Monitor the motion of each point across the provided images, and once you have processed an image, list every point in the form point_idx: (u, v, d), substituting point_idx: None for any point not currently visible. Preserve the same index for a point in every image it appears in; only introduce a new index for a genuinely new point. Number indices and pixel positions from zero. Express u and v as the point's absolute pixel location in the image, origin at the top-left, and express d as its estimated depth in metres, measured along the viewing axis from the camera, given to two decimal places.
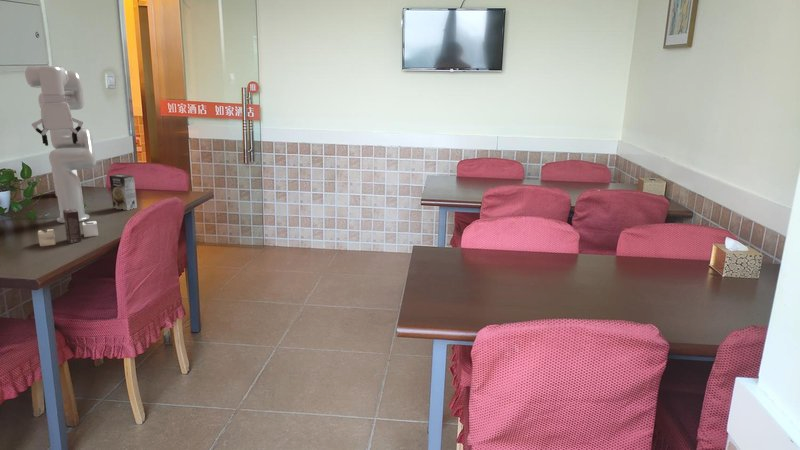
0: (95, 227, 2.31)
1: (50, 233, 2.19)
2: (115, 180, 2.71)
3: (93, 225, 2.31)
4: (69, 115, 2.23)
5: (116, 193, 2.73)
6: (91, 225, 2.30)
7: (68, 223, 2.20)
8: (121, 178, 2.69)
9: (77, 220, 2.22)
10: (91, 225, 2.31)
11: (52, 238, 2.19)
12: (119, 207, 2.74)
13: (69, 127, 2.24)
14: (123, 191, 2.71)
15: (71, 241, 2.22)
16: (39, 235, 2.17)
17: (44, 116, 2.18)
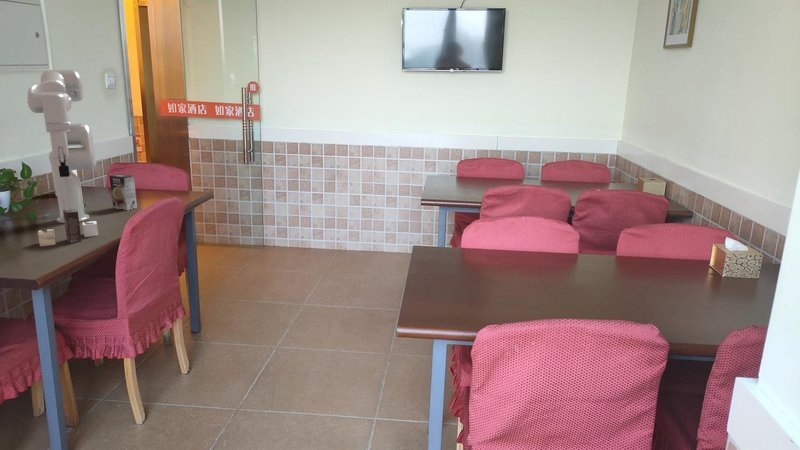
0: (95, 227, 2.31)
1: (50, 233, 2.19)
2: (115, 180, 2.71)
3: (93, 225, 2.31)
4: None
5: (116, 193, 2.73)
6: (91, 225, 2.30)
7: (68, 223, 2.20)
8: (121, 178, 2.69)
9: (77, 220, 2.22)
10: (91, 225, 2.31)
11: (52, 238, 2.19)
12: (119, 207, 2.74)
13: None
14: (123, 191, 2.71)
15: (71, 241, 2.22)
16: (39, 235, 2.17)
17: (66, 144, 2.13)
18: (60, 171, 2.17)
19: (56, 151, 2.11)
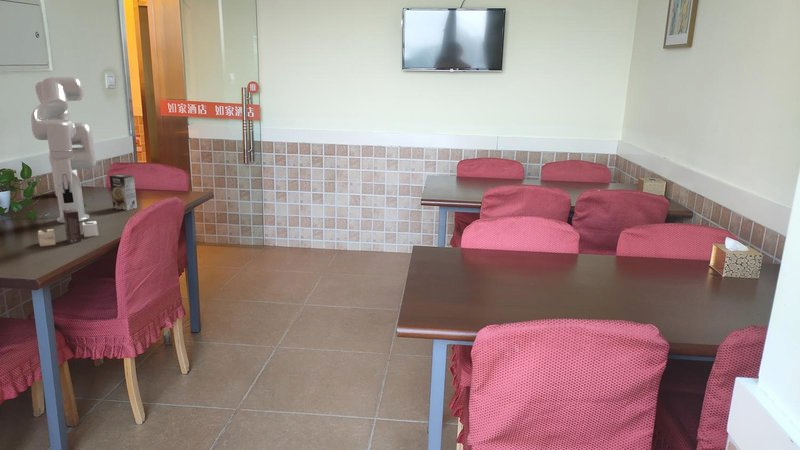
0: (95, 227, 2.31)
1: (50, 233, 2.19)
2: (115, 180, 2.71)
3: (93, 225, 2.31)
4: None
5: (116, 193, 2.73)
6: (91, 225, 2.30)
7: (68, 223, 2.20)
8: (121, 178, 2.69)
9: (77, 220, 2.22)
10: (91, 225, 2.31)
11: (52, 238, 2.19)
12: (119, 207, 2.74)
13: None
14: (123, 191, 2.71)
15: (71, 241, 2.22)
16: (39, 235, 2.17)
17: (70, 171, 2.16)
18: (64, 197, 2.20)
19: (60, 178, 2.14)
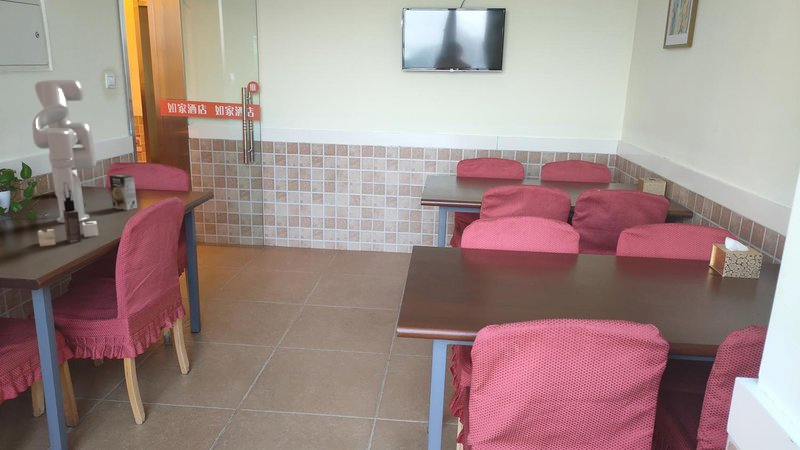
0: (95, 227, 2.31)
1: (50, 233, 2.19)
2: (115, 180, 2.71)
3: (93, 225, 2.31)
4: None
5: (116, 193, 2.73)
6: (91, 225, 2.30)
7: (68, 223, 2.20)
8: (121, 178, 2.69)
9: (77, 220, 2.22)
10: (91, 225, 2.31)
11: (52, 238, 2.19)
12: (119, 207, 2.74)
13: None
14: (123, 191, 2.71)
15: (71, 241, 2.22)
16: (39, 235, 2.17)
17: (71, 180, 2.16)
18: (65, 206, 2.20)
19: (61, 187, 2.15)
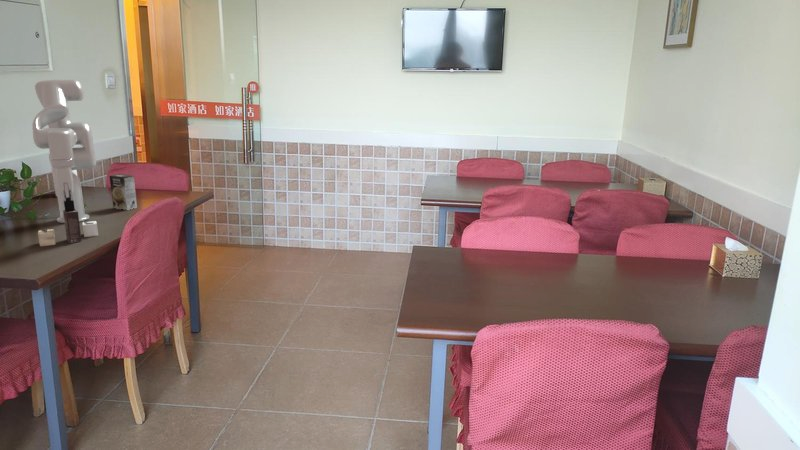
0: (95, 227, 2.31)
1: (50, 233, 2.19)
2: (115, 180, 2.71)
3: (93, 225, 2.31)
4: None
5: (116, 193, 2.73)
6: (91, 225, 2.30)
7: (68, 223, 2.20)
8: (121, 178, 2.69)
9: (77, 220, 2.22)
10: (91, 225, 2.31)
11: (52, 238, 2.19)
12: (119, 207, 2.74)
13: None
14: (123, 191, 2.71)
15: (71, 241, 2.22)
16: (39, 235, 2.17)
17: (71, 180, 2.16)
18: (65, 206, 2.20)
19: (61, 187, 2.15)
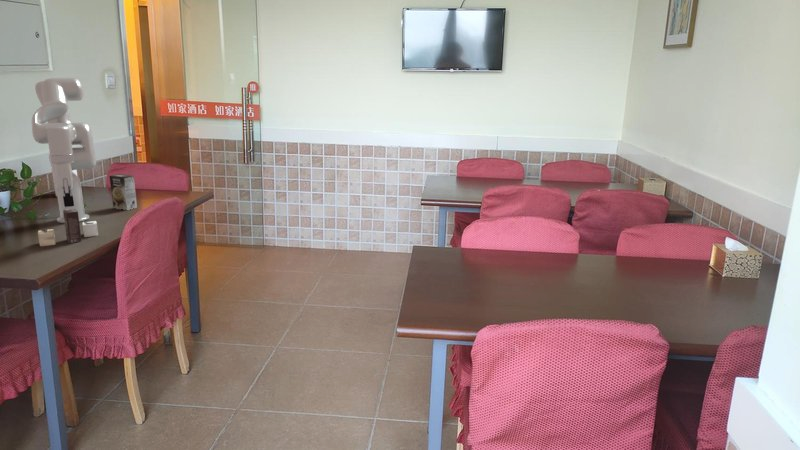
0: (95, 227, 2.31)
1: (50, 233, 2.19)
2: (115, 180, 2.71)
3: (93, 225, 2.31)
4: None
5: (116, 193, 2.73)
6: (91, 225, 2.30)
7: (68, 223, 2.20)
8: (121, 178, 2.69)
9: (77, 220, 2.22)
10: (91, 225, 2.31)
11: (52, 238, 2.19)
12: (119, 207, 2.74)
13: None
14: (123, 191, 2.71)
15: (71, 241, 2.22)
16: (39, 235, 2.17)
17: (70, 176, 2.16)
18: (65, 201, 2.21)
19: (61, 183, 2.15)
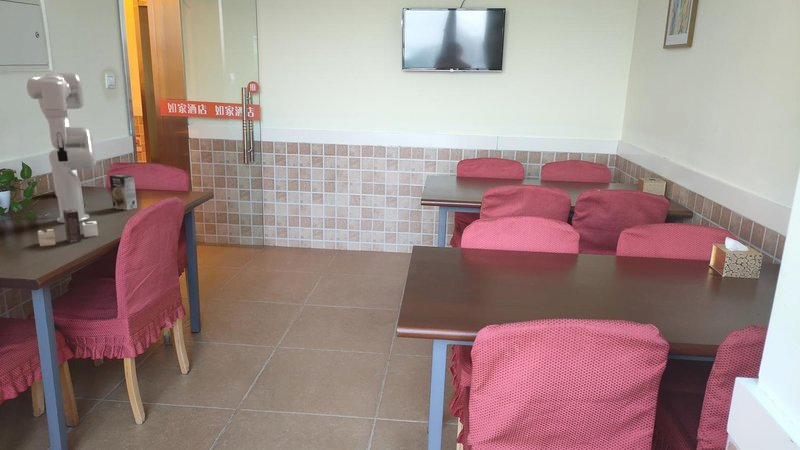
0: (95, 227, 2.31)
1: (50, 233, 2.19)
2: (115, 180, 2.71)
3: (93, 225, 2.31)
4: None
5: (116, 193, 2.73)
6: (91, 225, 2.30)
7: (68, 223, 2.20)
8: (121, 178, 2.69)
9: (77, 220, 2.22)
10: (91, 225, 2.31)
11: (52, 238, 2.19)
12: (119, 207, 2.74)
13: None
14: (123, 191, 2.71)
15: (71, 241, 2.22)
16: (39, 235, 2.17)
17: (64, 130, 2.20)
18: (59, 156, 2.24)
19: (55, 137, 2.18)
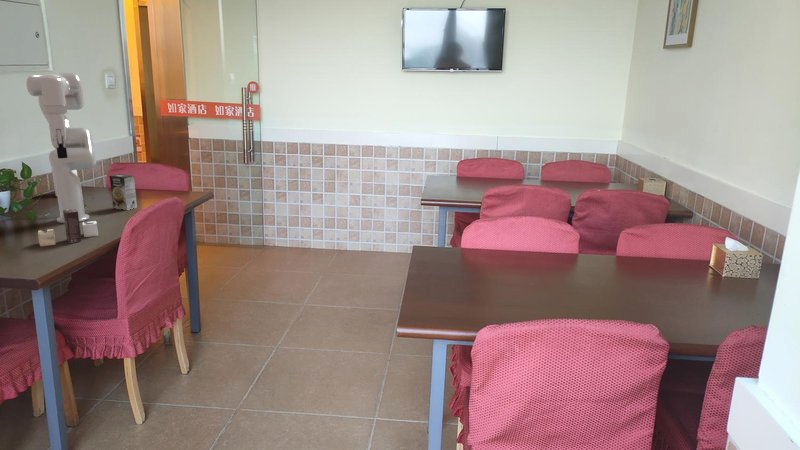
0: (95, 227, 2.31)
1: (50, 233, 2.19)
2: (115, 180, 2.71)
3: (93, 225, 2.31)
4: None
5: (116, 193, 2.73)
6: (91, 225, 2.30)
7: (68, 223, 2.20)
8: (121, 178, 2.69)
9: (77, 220, 2.22)
10: (91, 225, 2.31)
11: (52, 238, 2.19)
12: (119, 207, 2.74)
13: None
14: (123, 191, 2.71)
15: (71, 241, 2.22)
16: (39, 235, 2.17)
17: (64, 126, 2.20)
18: (58, 153, 2.24)
19: (54, 133, 2.18)
